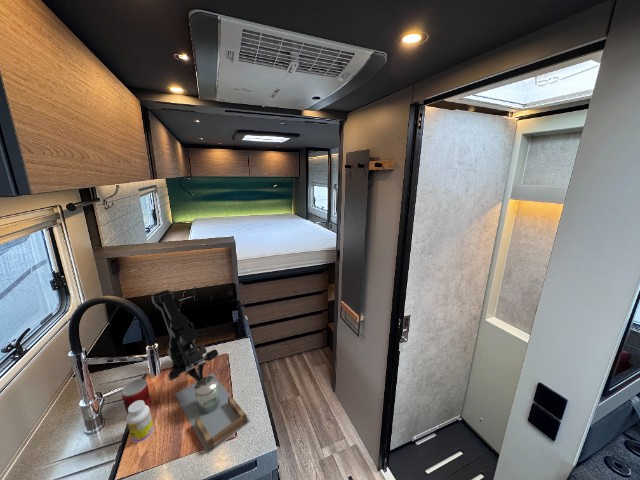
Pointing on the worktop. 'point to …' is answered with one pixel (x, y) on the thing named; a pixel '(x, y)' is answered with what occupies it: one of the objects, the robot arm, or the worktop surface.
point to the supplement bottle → (139, 421)
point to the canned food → (136, 393)
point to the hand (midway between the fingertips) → (201, 384)
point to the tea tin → (207, 394)
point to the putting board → (212, 420)
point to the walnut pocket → (226, 431)
